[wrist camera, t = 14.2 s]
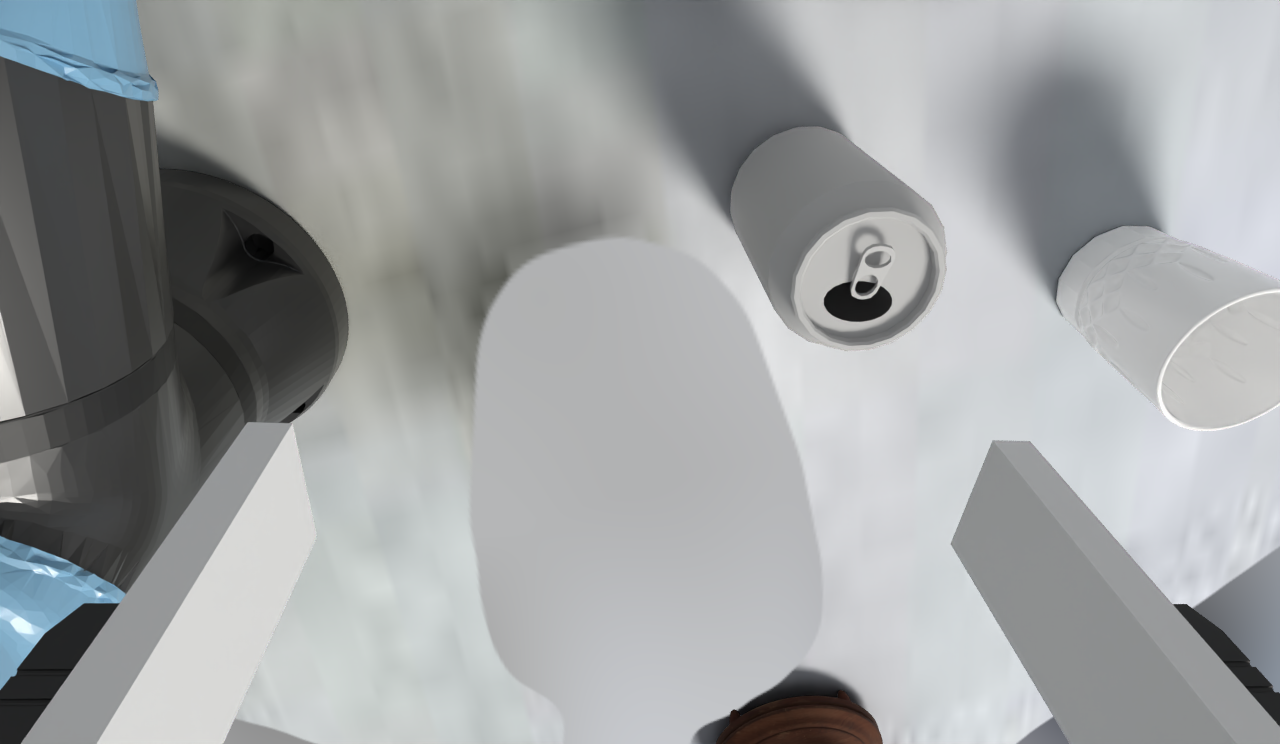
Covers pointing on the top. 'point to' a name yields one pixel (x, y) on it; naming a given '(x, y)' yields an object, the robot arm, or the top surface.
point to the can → (837, 240)
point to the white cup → (1178, 324)
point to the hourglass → (803, 723)
